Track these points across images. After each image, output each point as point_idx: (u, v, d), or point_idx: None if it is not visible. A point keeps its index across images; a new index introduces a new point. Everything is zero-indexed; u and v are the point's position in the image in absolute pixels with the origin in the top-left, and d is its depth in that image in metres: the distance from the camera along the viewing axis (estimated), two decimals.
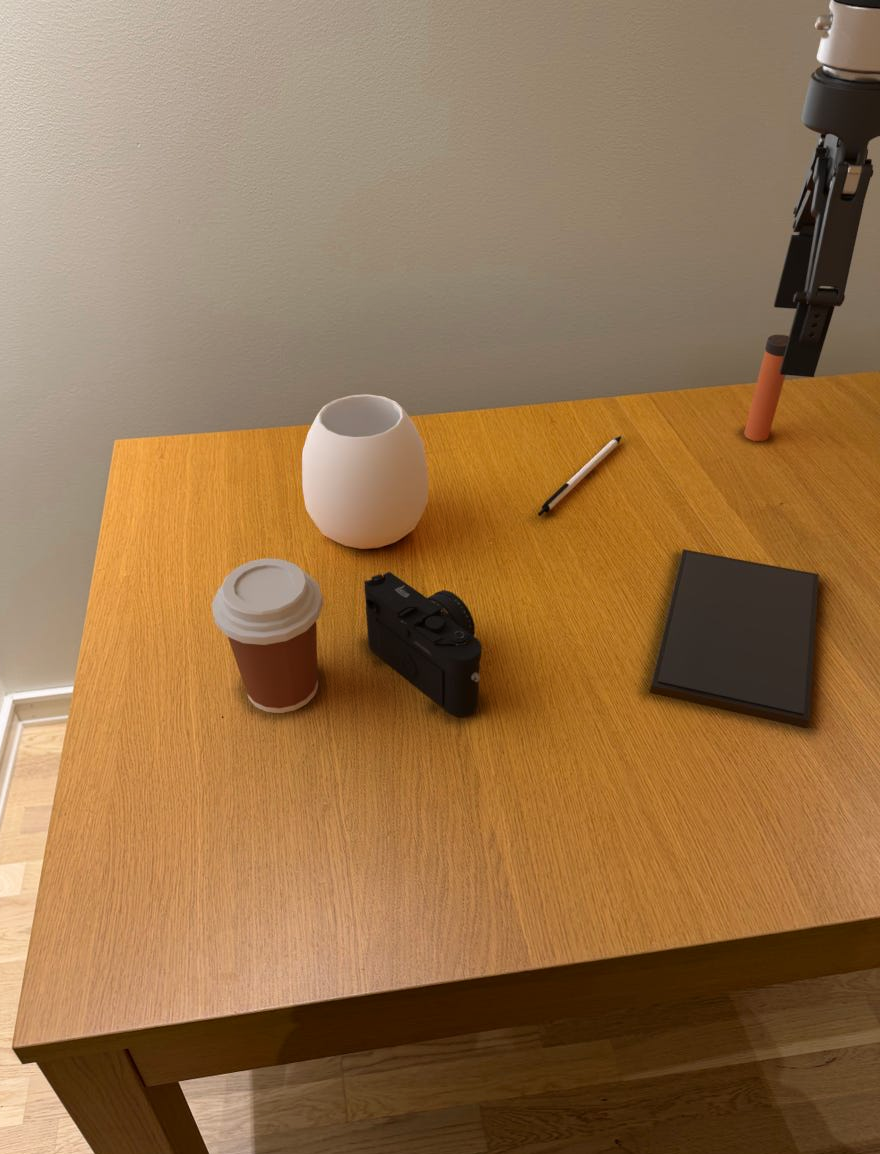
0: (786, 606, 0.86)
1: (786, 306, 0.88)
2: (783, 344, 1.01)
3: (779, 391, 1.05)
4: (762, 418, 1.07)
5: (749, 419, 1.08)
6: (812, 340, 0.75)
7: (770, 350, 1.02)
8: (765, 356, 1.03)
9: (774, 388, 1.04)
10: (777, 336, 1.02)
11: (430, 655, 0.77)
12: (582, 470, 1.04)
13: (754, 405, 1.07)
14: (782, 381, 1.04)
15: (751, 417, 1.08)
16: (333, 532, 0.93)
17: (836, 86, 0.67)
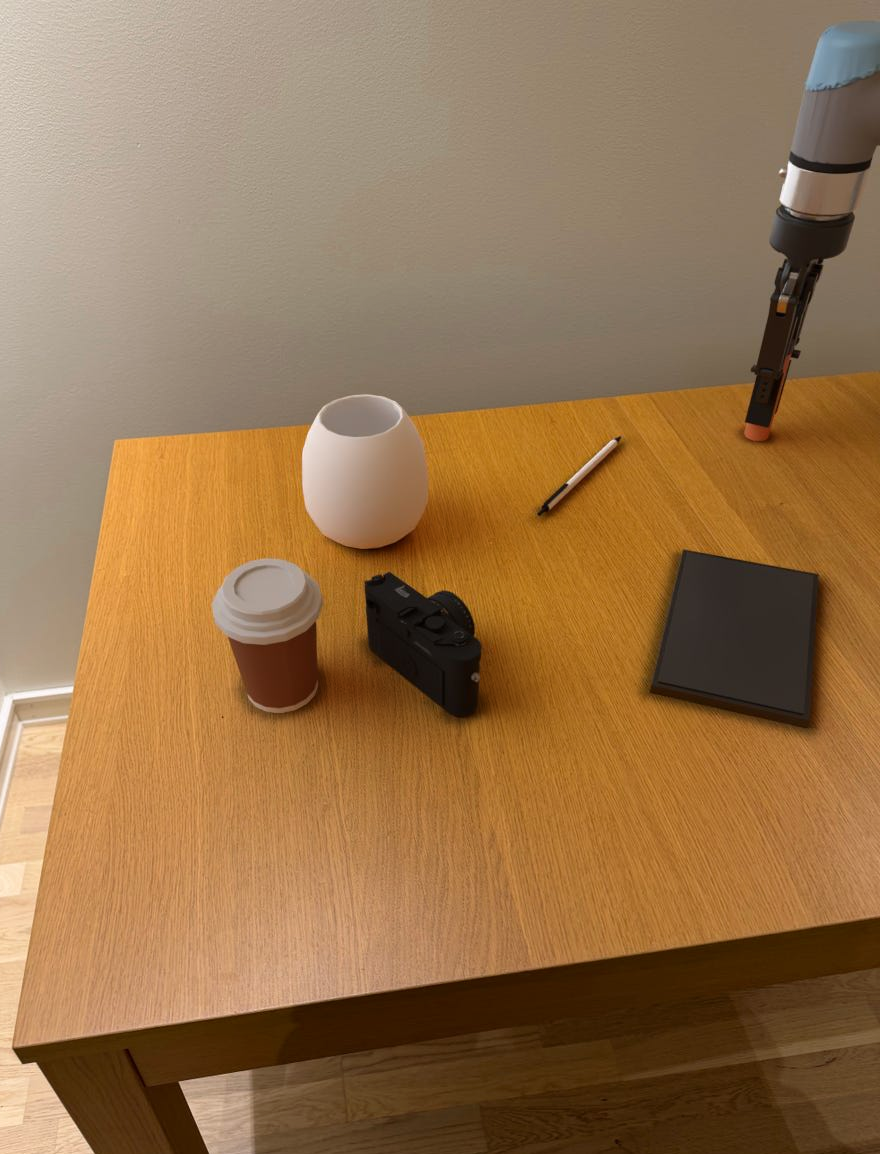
0: (786, 606, 0.86)
1: None
2: None
3: (779, 391, 1.05)
4: None
5: None
6: (763, 400, 1.04)
7: None
8: None
9: None
10: None
11: (431, 655, 0.77)
12: (582, 470, 1.04)
13: None
14: (782, 381, 1.04)
15: None
16: (333, 532, 0.93)
17: (786, 220, 0.92)
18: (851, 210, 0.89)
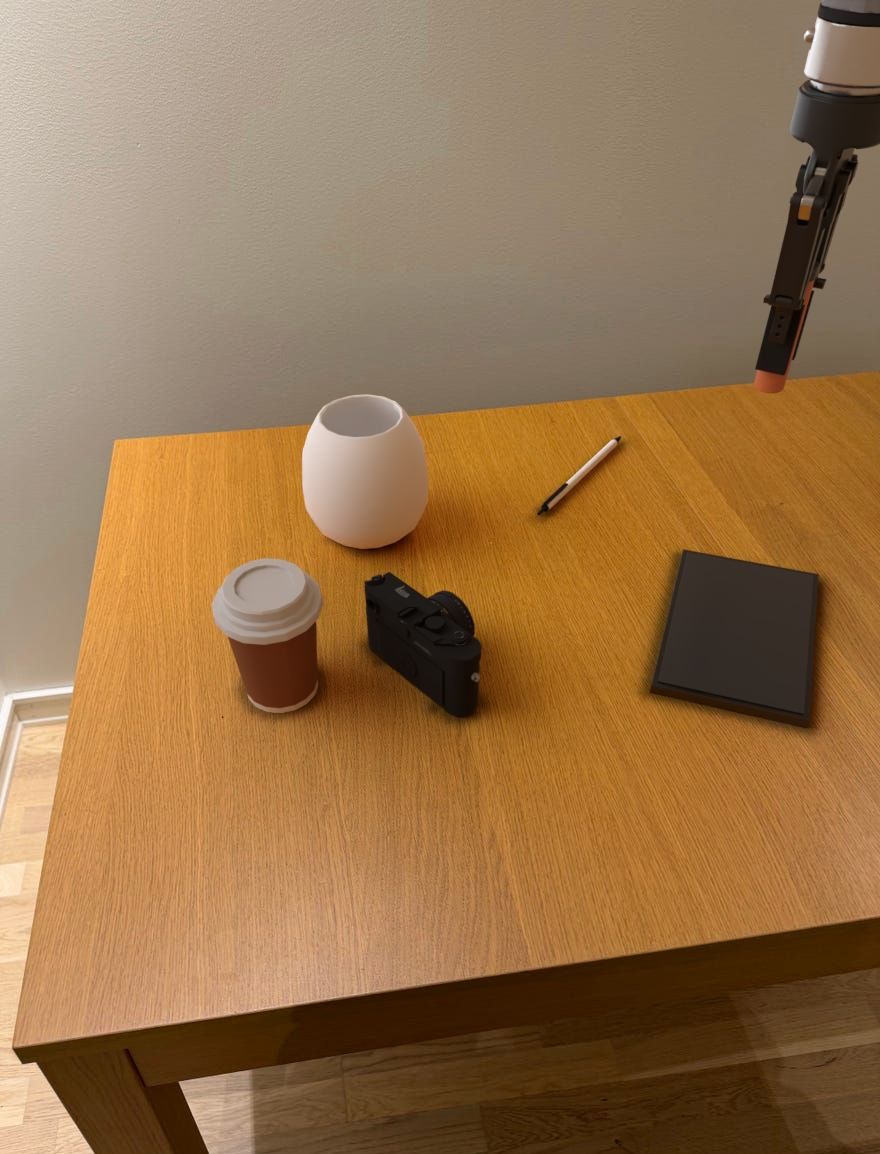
0: (786, 606, 0.86)
1: None
2: None
3: (798, 329, 0.84)
4: None
5: None
6: (778, 340, 0.83)
7: None
8: None
9: None
10: None
11: (431, 655, 0.77)
12: (581, 470, 1.04)
13: None
14: (802, 316, 0.84)
15: None
16: (333, 532, 0.93)
17: (812, 97, 0.71)
18: None
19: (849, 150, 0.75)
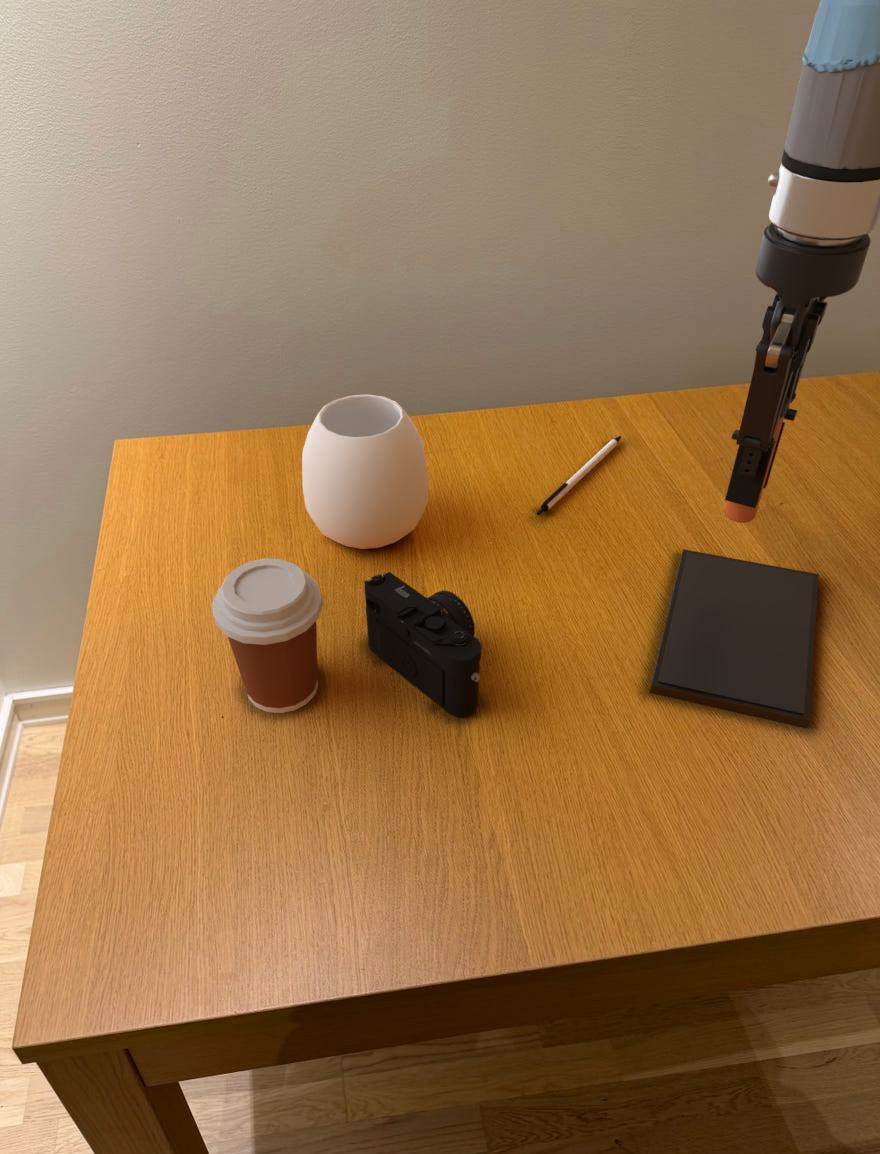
0: (786, 606, 0.86)
1: None
2: None
3: (769, 462, 0.81)
4: None
5: None
6: (748, 476, 0.80)
7: None
8: None
9: None
10: None
11: (431, 655, 0.77)
12: (581, 470, 1.04)
13: None
14: None
15: None
16: (333, 532, 0.93)
17: (777, 244, 0.68)
18: (866, 232, 0.65)
19: None
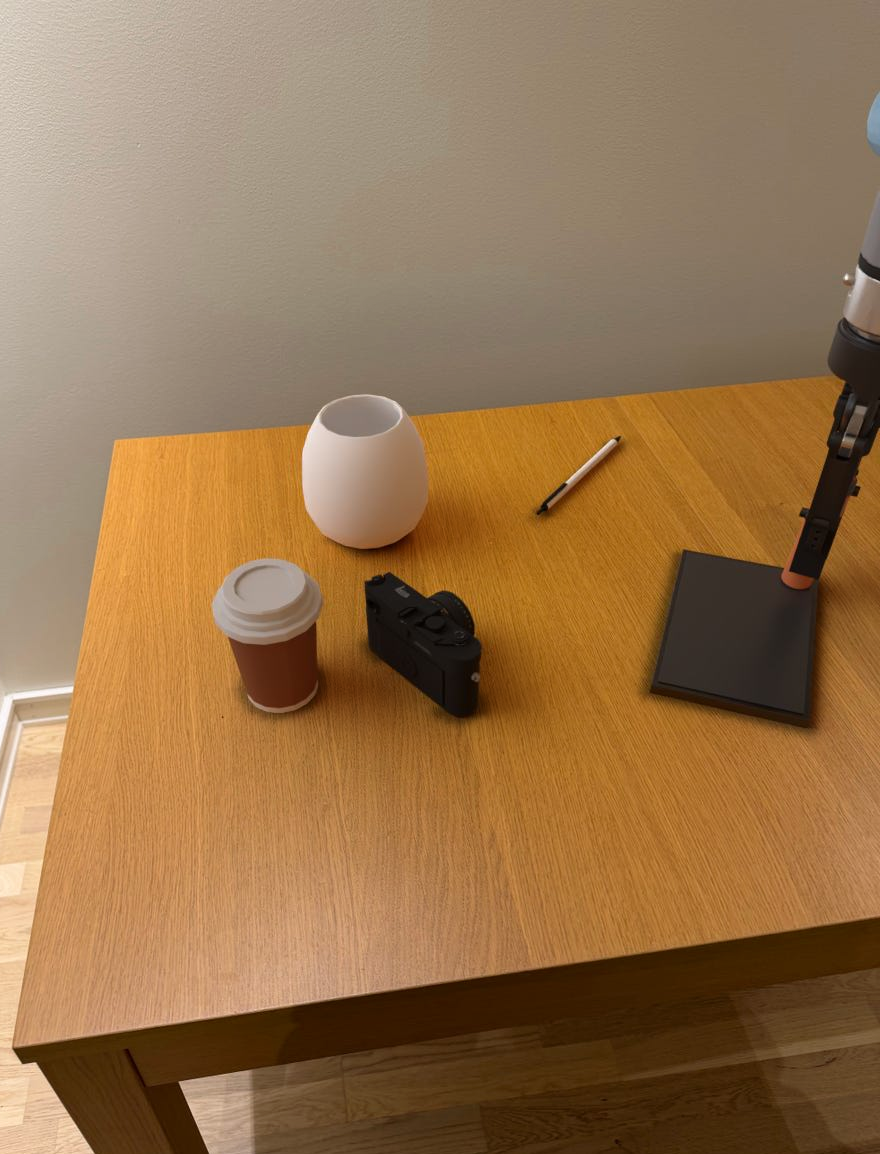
0: (786, 606, 0.86)
1: None
2: None
3: None
4: None
5: (790, 563, 0.87)
6: (814, 551, 0.82)
7: None
8: None
9: None
10: None
11: (431, 655, 0.77)
12: (581, 470, 1.04)
13: None
14: None
15: None
16: (333, 532, 0.93)
17: (852, 341, 0.70)
18: None
19: None
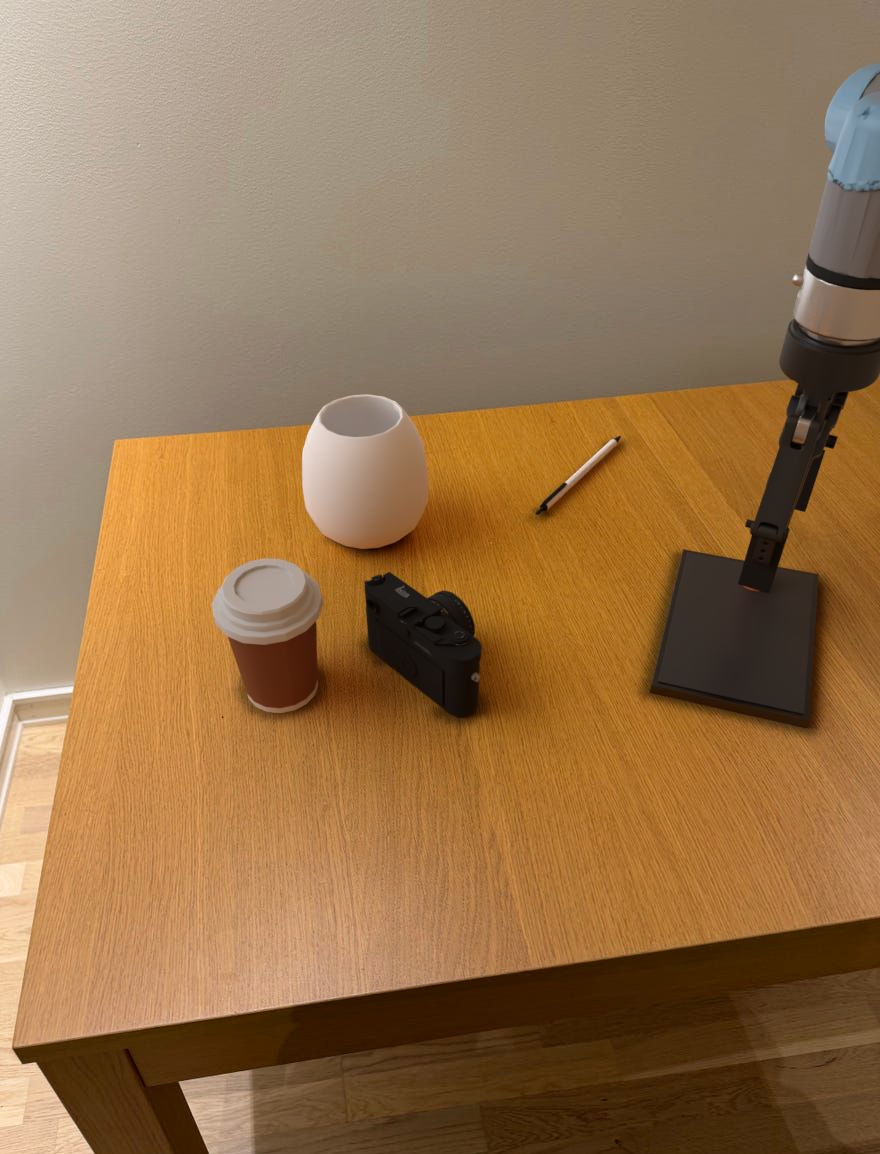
0: (786, 606, 0.86)
1: None
2: None
3: None
4: None
5: None
6: (762, 563, 0.78)
7: None
8: None
9: None
10: None
11: (431, 655, 0.77)
12: (581, 469, 1.04)
13: None
14: None
15: None
16: (333, 532, 0.93)
17: (801, 342, 0.70)
18: None
19: (834, 397, 0.75)
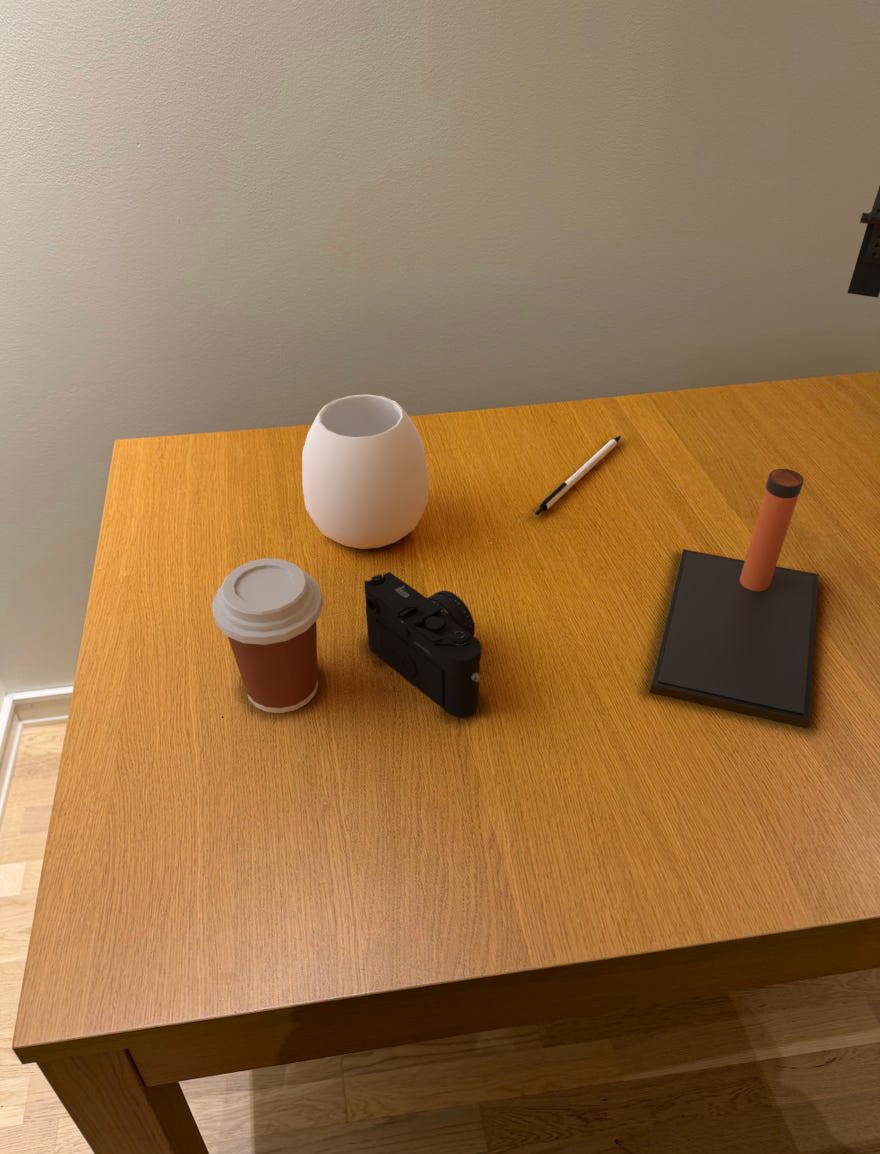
0: (786, 606, 0.86)
1: None
2: (788, 484, 0.80)
3: (783, 536, 0.84)
4: (762, 567, 0.86)
5: (746, 565, 0.87)
6: (875, 260, 0.83)
7: (772, 490, 0.81)
8: (766, 496, 0.82)
9: (777, 533, 0.83)
10: (781, 471, 0.81)
11: (431, 655, 0.77)
12: (580, 469, 1.04)
13: (752, 550, 0.86)
14: (787, 525, 0.83)
15: (748, 564, 0.87)
16: (333, 532, 0.93)
17: None
18: None
19: None
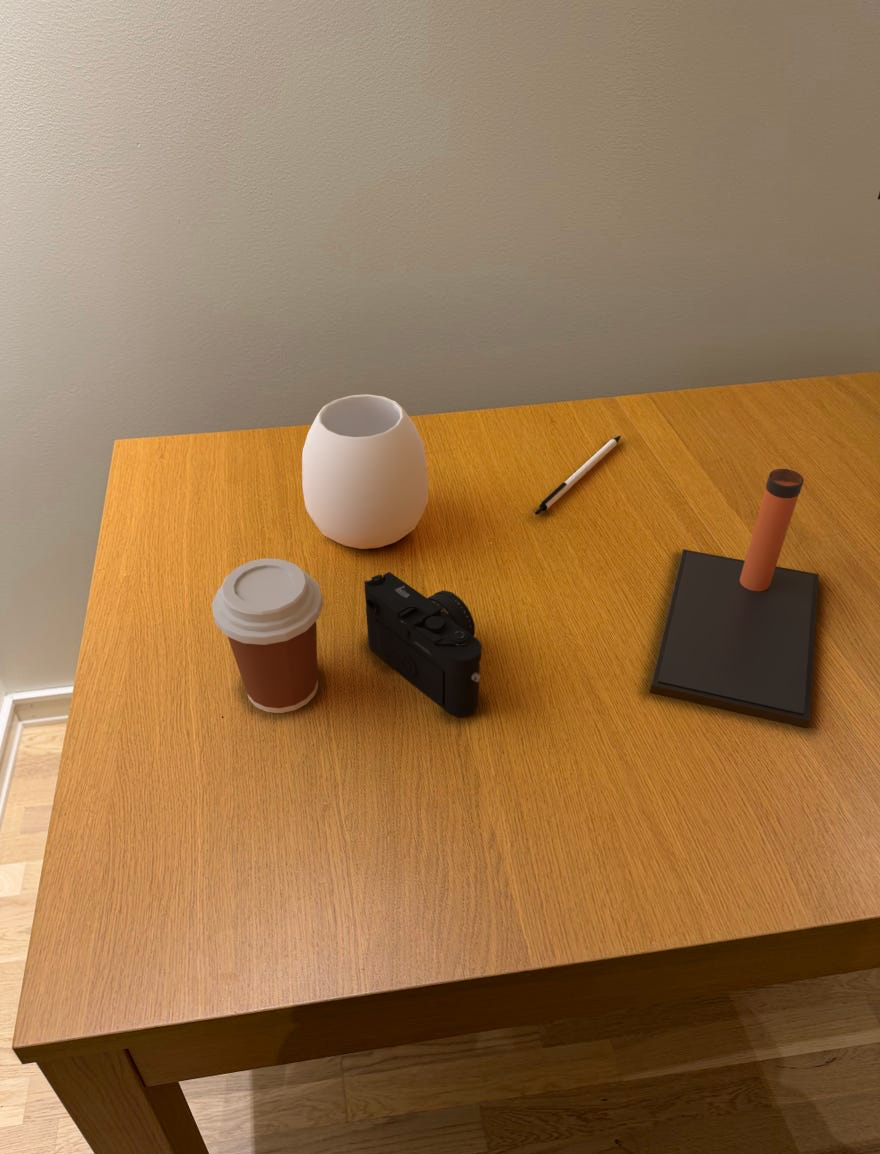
0: (786, 606, 0.86)
1: None
2: (788, 484, 0.80)
3: (783, 536, 0.84)
4: (762, 567, 0.86)
5: (746, 565, 0.87)
6: None
7: (772, 490, 0.81)
8: (766, 496, 0.82)
9: (777, 533, 0.83)
10: (781, 471, 0.81)
11: (431, 655, 0.77)
12: (580, 469, 1.04)
13: (752, 550, 0.86)
14: (787, 525, 0.83)
15: (748, 564, 0.87)
16: (333, 532, 0.93)
17: None
18: None
19: None
